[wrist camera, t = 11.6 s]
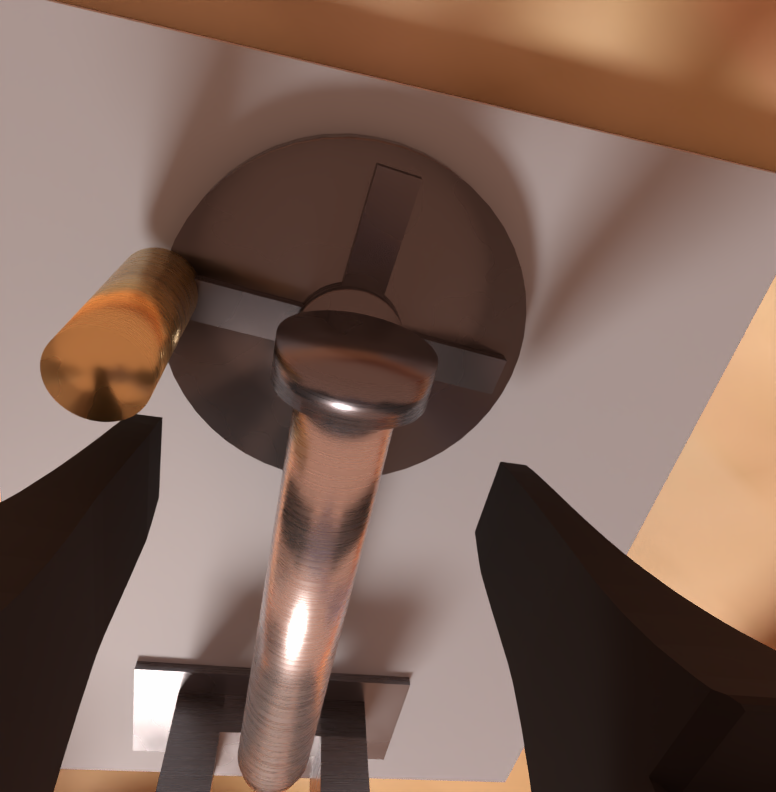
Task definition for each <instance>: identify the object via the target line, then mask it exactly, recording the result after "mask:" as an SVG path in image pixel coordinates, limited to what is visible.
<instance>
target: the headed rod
mask: <svg viewBox="0 0 776 792" xmlns="http://www.w3.org/2000/svg"><path fill="white" fill-rule="evenodd" d="M437 367H438V356H437V354H436V352H435V351H434V349H433V348H432V347H431V346H430V345H429V344H428V343H427V342H426V341H425V340H424V339H423V338H421V337H420V336H418V335H417V334H415V333H413V332H412V331H410V330H408V329H406V328H404V327H402V326H399V325H397V324H395V323H392V322H389V321H386V320H384V319H380V318H377V317H373V316H369V315H365V314H360V313H354V312H347V311H336V310H317V311H308V312H302V313H298V314H295V315H292V316H290V317H288V318H286V319H285V320H283V321H282V322H281V323H280V324H279V326H278V328H277V331H276V338H275V346H274V353H273V360H272V368H271V377H270V380H271V384H272V387H273V389H274V391H275V392H276V393H277V395H278V396H279V397H280V398H281V399H282V400H283V401H284V402H286V403H287V404H288V405H289V406H291V407H292V408H293V410H292V416H291V422H290V428H289V435H288V441H287V447H286V453H285V460H284V466H283V472H282V478H281V485H280V491H279V497H278V503H277V510H276V516H275V522H274V528H273V535H272V541H271V547H270V553H269V560H268V566H267V572H266V578H265V585H264V591H263V597H262V603H261V610H260V616H259V622H258V628H257V635H256V641H255V647H254V653H253V660H252V666H251V672H250V678H249V685H248V691H247V697H246V703H245V710H244V716H243V722H242V728H241V735H240V741H239V747H238V755H237V758H238V765H239V768H240V771H241V773H242V775H243V778H244V780H245V781H246V783H247V784H248V785H249V787H250V788H251V789H253V790H254V791H255V792H284V791H286V790H287V789H289V788H290V787H291V786H292V785H293V784H294V783H295V782H296V781H297V780H298V779H299V778H300V777H301V776H302V774H303V773H304V771H305V769H306V767H307V764H308V760H309V756H310V752H311V748H312V745H313V741H314V737H315V733H316V729H317V725H318V721H319V717H320V713H321V709H322V706H323V702H324V698H325V694H326V690H327V686H328V682H329V678H330V674H331V670H332V666H333V663H334V659H335V655H336V651H337V647H338V643H339V639H340V635H341V631H342V627H343V624H344V620H345V616H346V612H347V608H348V604H349V600H350V596H351V592H352V588H353V584H354V581H355V577H356V573H357V569H358V565H359V561H360V557H361V553H362V549H363V545H364V541H365V538H366V534H367V530H368V526H369V522H370V518H371V514H372V510H373V506H374V502H375V499H376V495H377V491H378V487H379V483H380V479H381V475H382V471H383V467H384V463H385V459H386V456H387V452H388V448H389V444H390V440H391V436H392V432H393V428H398V427H402V426H405V425H407V424H410V423H412V422H414V421H415V420H417V419H418V418H419V417H420V416H421V415H422V414H423V413H424V411H425V409H426V406H427V403H428V399H429V395H430V392H431V388H432V385H433V381H434V378H435V374H436V370H437Z"/></svg>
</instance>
